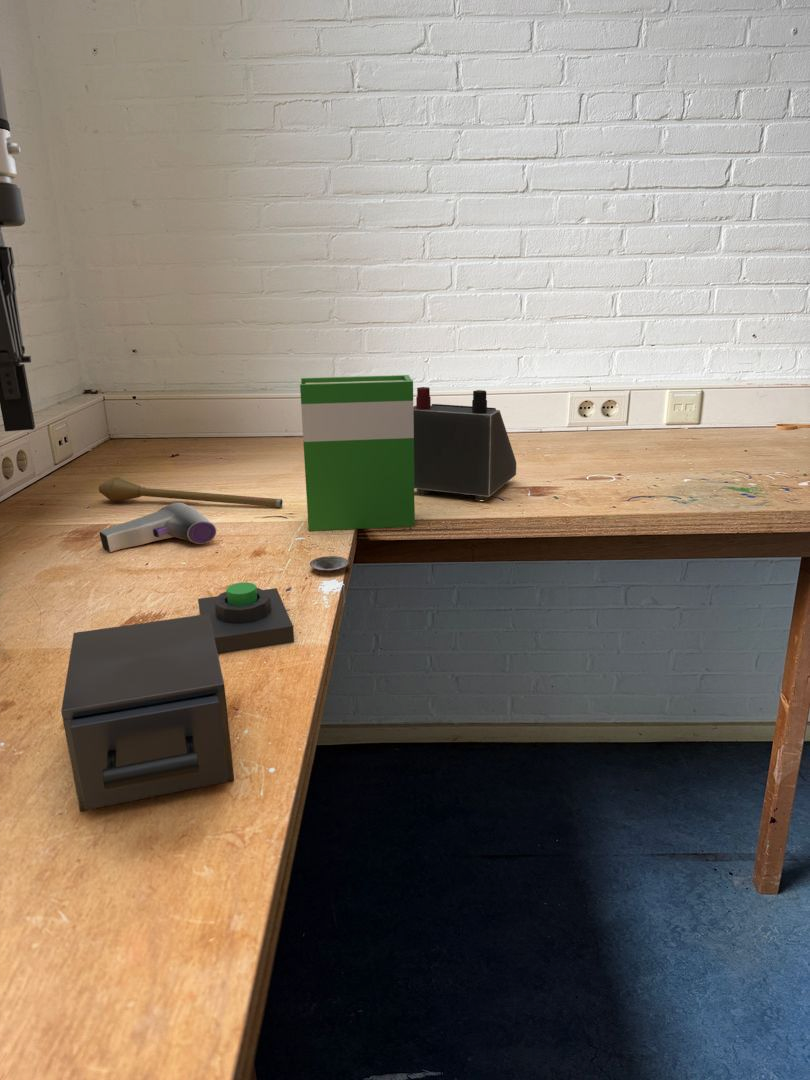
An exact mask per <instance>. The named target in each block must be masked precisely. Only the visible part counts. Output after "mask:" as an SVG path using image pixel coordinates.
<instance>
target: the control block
mask: <svg viewBox="0 0 810 1080" xmlns="http://www.w3.org/2000/svg"><path fill="white" fill-rule="evenodd" d="M257 598H258V600H257V601H256V602H254V603H251V604H249V605H241V606H237V605H230V604H228V603H227V593H226V591H223V592H221V593H219V594H218V595H215V596H209V597H208V596H207V597H201V598H197V603H198V612H199V615H204V614H209V615H210V620H211V625H212V629H213V634H214V639H215V643H216V648H217V653H218V655H223V654H229V653H236V652H243V651H248V650H254V649H261V648H269V647H274V646H280V645H287V644H293V643H295V635H294V633H295V632H294V625H293V623H292V620H291V618H290V615H289V613H288V611H287V609H286V607H285V604H284V602H283V599H282V597H281V595H280V592H279V591H278V588H277V587H275V588H267V589H261V588H258V587H257Z"/></svg>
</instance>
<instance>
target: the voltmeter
mask: <svg viewBox="0 0 810 1080" xmlns="http://www.w3.org/2000/svg"><path fill="white" fill-rule="evenodd" d="M430 390H431V388H430V387H428V386H420V387H417V388H416V398H415V399H416V401H415V403H416V404H415V405H413V416H414V489H416V492H417V494H418V493H419V494H418V495H421V494H425V495H428V494H429V493H430V491H435V492H444V493H453V494H463V495H472V496H475V500H476V499H477V500H486V499H488V500H489V498H490V497H491V496H492V495H493V494H495V493H496V492H497V491H498V490H500V489H501V488H502V487H503V486H505V485H504V484H506V483H507V484H508V483H509V481H511V479H513V478H515V476H517V460H516V457H515V453H514V450H513V447H512V444H511V441H510V438H509V435H508V431H507V429H506V426H505V422H504V419H503V416H502V413H501V410H500V409H497V408H496V407H488V400H487V391H486V390H483V389H482V390H481V389H477V390H473V391H472V400H471V405H457V404H440V403H432V404H431V401H432V400H431V395H430V394H431V393H430ZM507 484H506V485H507ZM427 493H428V494H427ZM477 500H476V501H477Z"/></svg>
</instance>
